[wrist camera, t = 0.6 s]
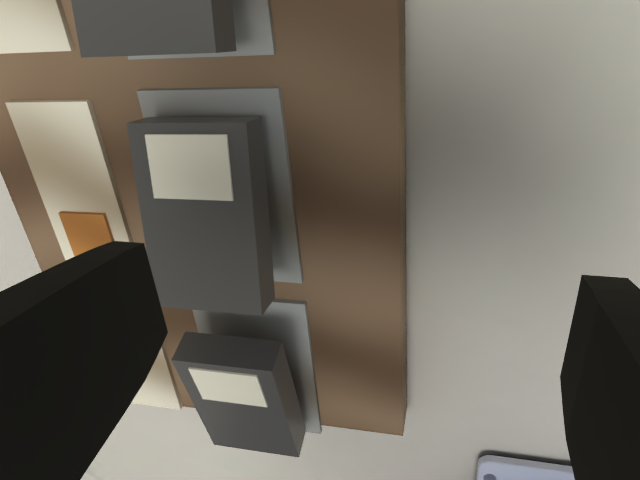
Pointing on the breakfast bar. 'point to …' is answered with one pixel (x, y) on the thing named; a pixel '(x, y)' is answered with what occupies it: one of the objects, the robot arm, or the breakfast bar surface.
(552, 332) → the breakfast bar surface
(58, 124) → the switch panel
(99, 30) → the switch
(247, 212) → the switch mid
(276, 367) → the switch
